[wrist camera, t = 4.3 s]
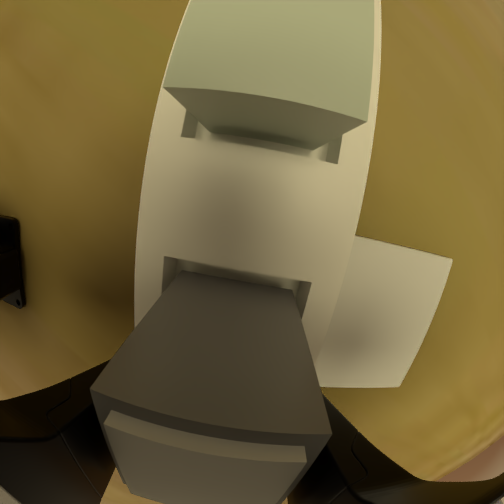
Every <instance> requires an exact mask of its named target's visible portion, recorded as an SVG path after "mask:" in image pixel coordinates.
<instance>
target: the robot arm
mask: <svg viewBox="0 0 504 504" xmlns="http://www.w3.org/2000/svg"><path fill="white" fill-rule="evenodd" d="M0 300H4V301H5V302H7V303H9V304H11V305H13V306H15V307H17V308H19V309H21V308H23V307H24V306H25V305H26V303H25V296H24V290H23V283H22V274H21V265H20V252H19V230H18V222H17V220H16V219H15V218H11V217H7V216H2V215H0ZM110 360H111V359H110ZM110 360H108V361H106V362H104V363H102V364H100V365H98V366H96V367H93V368H91V369H89V370H87V371H85V372H83V373H80V374H78V375H76V376H74V377H72V378H71V379H70V378H69V379H67V380H65V381H62V382H60V383H58V384H55V385H53V386H50V387H47V388H45V389H42V390H39V391H35V392H32V393H29V394H25V395H22V396H18V397H15V398H11V399H7V400H1V401H0V504H100V502H101V498H102V497H103V494H104V492H105V490H106V488H107V485H108V483H109V481H110V478H111V476H112V474H113V472H114V470H115V467H116V465H115V463H114V461H113V458H112V456H111V453H110V451H109V448H108V445H107V443H106V440H105V437H104V434H103V432H102V429H101V426H100V423H99V420H98V416H97V413H96V410H95V406H94V403H93V399H92V396H91V392H90V388H91V386H92V385H93V383H94V382H95V381H96V379H97V378H98V376H99V375H100V374H101V372H102V371H103V370H104V368H105V367H106V366H107V364H108V363H109V362H110ZM322 396H323V400H324V404H325V408H326V411H327V415H328V419H329V423H330V427H331V431H332V435H331V437H330V439H329V440H328V442H327V443H326V445H325V446H324V448H323V449H322V451H321V452H320V454H319V455H318V457H317V458H316V459H315V461H314V462H313V464H312V465H311V467H310V468H309V469H308V471H307V472H306V473H305V475H304V476H303V477H302V479H301V480H300V481H299V483H298V484H297V485H296V486H295V488H294V489H293V490H292V491H291V493H290V494H289V495H288V496H287V499H288V504H503V503H502V501H501V498H502V497H504V473H502V474H501V475H500V476H497V477H495V478H493V479H490V480H485V481H475V482H474V481H473V482H434V481H426V480H422V479H419V478H417V477H415V476H413V475H412V474H410V473H409V472H407V471H406V470H405V469H403V468H402V467H401V466H399V465H398V464H396V463H395V462H394V461H392V460H391V459H390V458H388V457H387V456H386V455H385V454H383V453H382V452H381V451H380V450H378V449H377V448H376V447H375V446H374V445H373V444H372V443H370V442H369V441H368V440H367V439H366V438H365V437H364V436H363V435H362V434H361V433H360V432H358V430H357V429H356V428H355V427H354V426H353V425H352V424H351V423H350V422H349V421H348V420H347V419H346V418H345V417H344V416H343V415H342V414H341V413H340V412H339V411H338V410H337V409H336V408H335V407H334V406H333V405H332V404H331V402H330V401H329V400H328V399H327V398H326V397H325V396H324V395H323V394H322Z"/></svg>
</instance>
